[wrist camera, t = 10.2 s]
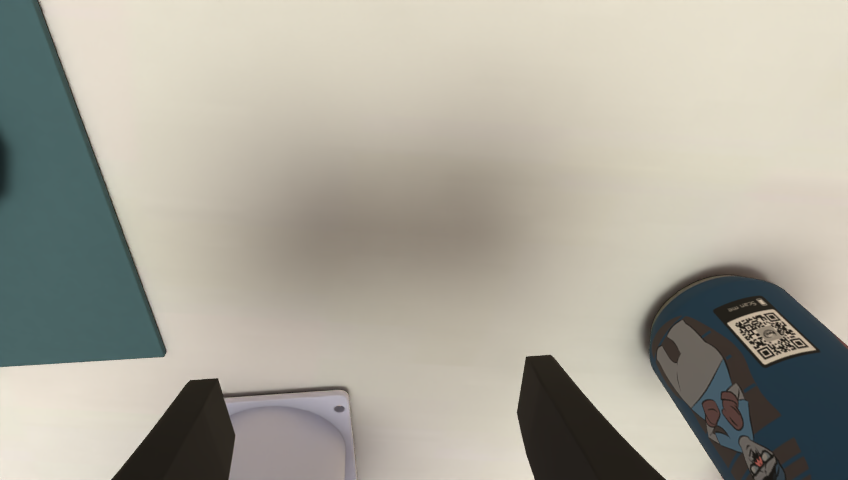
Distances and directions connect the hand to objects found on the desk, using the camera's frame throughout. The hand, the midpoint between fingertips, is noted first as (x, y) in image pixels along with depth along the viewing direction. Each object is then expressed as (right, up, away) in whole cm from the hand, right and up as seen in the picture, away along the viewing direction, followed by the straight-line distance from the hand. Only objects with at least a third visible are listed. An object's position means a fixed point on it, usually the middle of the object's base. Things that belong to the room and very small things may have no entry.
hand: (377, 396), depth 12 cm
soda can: (+15, 0, +13) cm, 20 cm away
